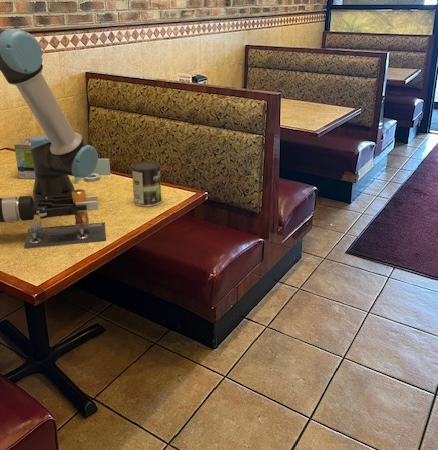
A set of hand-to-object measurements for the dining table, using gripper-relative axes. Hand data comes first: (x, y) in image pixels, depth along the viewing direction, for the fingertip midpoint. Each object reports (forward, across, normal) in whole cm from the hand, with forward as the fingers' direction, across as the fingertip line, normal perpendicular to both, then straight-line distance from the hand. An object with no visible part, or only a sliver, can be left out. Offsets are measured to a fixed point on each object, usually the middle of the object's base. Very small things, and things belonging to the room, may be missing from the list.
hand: (97, 202), depth 158 cm
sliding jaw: (-5, +2, -8) cm, 10 cm away
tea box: (-25, -64, -10) cm, 70 cm away
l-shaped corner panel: (-2, -52, -10) cm, 53 cm away
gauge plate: (-10, +2, -10) cm, 14 cm away
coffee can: (+18, -22, -10) cm, 29 cm away
